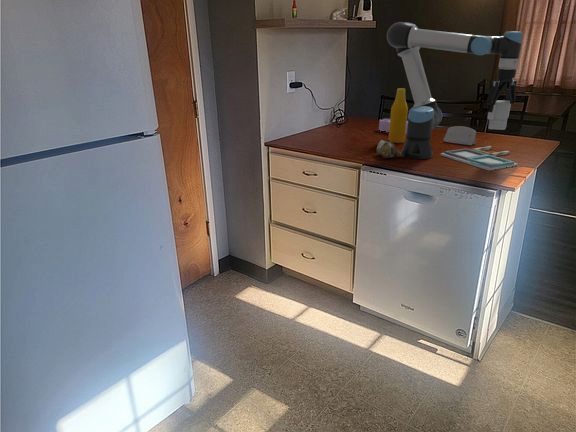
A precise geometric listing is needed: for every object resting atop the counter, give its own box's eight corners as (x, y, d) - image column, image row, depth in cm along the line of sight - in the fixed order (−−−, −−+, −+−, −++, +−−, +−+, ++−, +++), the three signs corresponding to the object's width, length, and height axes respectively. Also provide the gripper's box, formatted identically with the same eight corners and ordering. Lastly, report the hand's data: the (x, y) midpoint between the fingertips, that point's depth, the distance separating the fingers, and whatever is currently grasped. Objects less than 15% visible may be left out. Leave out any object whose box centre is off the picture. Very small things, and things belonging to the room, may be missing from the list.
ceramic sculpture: (390, 135, 221) (406, 143, 208) (388, 152, 224) (404, 161, 212) (372, 137, 218) (387, 145, 205) (370, 154, 221) (385, 163, 209)
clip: (375, 131, 275) (375, 120, 272) (385, 128, 283) (386, 118, 280) (403, 136, 262) (404, 124, 259) (413, 133, 270) (414, 121, 268)
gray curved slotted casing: (442, 141, 248) (446, 123, 247) (445, 142, 252) (449, 125, 250) (472, 145, 238) (477, 127, 237) (474, 146, 242) (479, 129, 240)
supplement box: (506, 127, 208) (510, 100, 203) (504, 130, 202) (509, 102, 197) (489, 126, 211) (493, 99, 207) (487, 129, 206) (491, 101, 201)
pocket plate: (488, 170, 193) (489, 166, 192) (440, 155, 218) (441, 151, 217) (517, 165, 200) (518, 161, 199) (467, 151, 225) (467, 147, 224)
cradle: (490, 156, 215) (491, 153, 214) (471, 151, 225) (471, 148, 225) (509, 154, 220) (509, 151, 220) (489, 148, 230) (490, 146, 230)
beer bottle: (398, 144, 242) (403, 90, 231) (384, 141, 248) (389, 88, 237) (408, 141, 247) (413, 88, 236) (394, 139, 254) (399, 87, 243)
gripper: (497, 69, 189) (488, 121, 197) (531, 68, 198) (520, 117, 207) (483, 68, 195) (474, 118, 203) (516, 67, 204) (506, 115, 213)
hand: (497, 118), depth 205 cm, fingers closed on supplement box, 10 cm apart
